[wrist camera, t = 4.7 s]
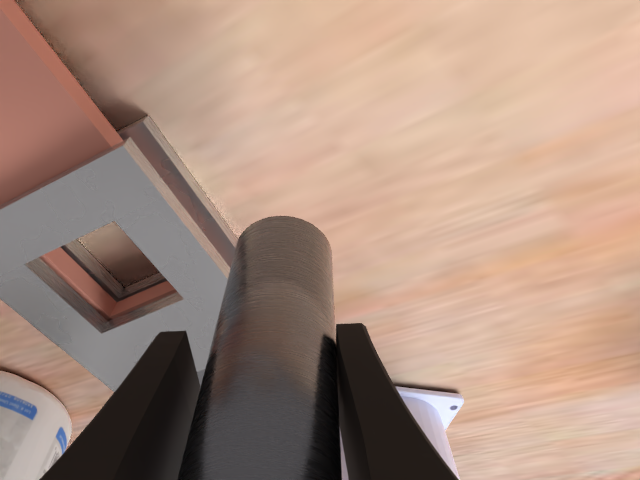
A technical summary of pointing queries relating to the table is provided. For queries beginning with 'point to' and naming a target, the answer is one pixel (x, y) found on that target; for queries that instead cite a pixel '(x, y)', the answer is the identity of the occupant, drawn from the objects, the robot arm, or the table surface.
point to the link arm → (51, 140)
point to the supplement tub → (30, 429)
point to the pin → (271, 364)
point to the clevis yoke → (143, 229)
